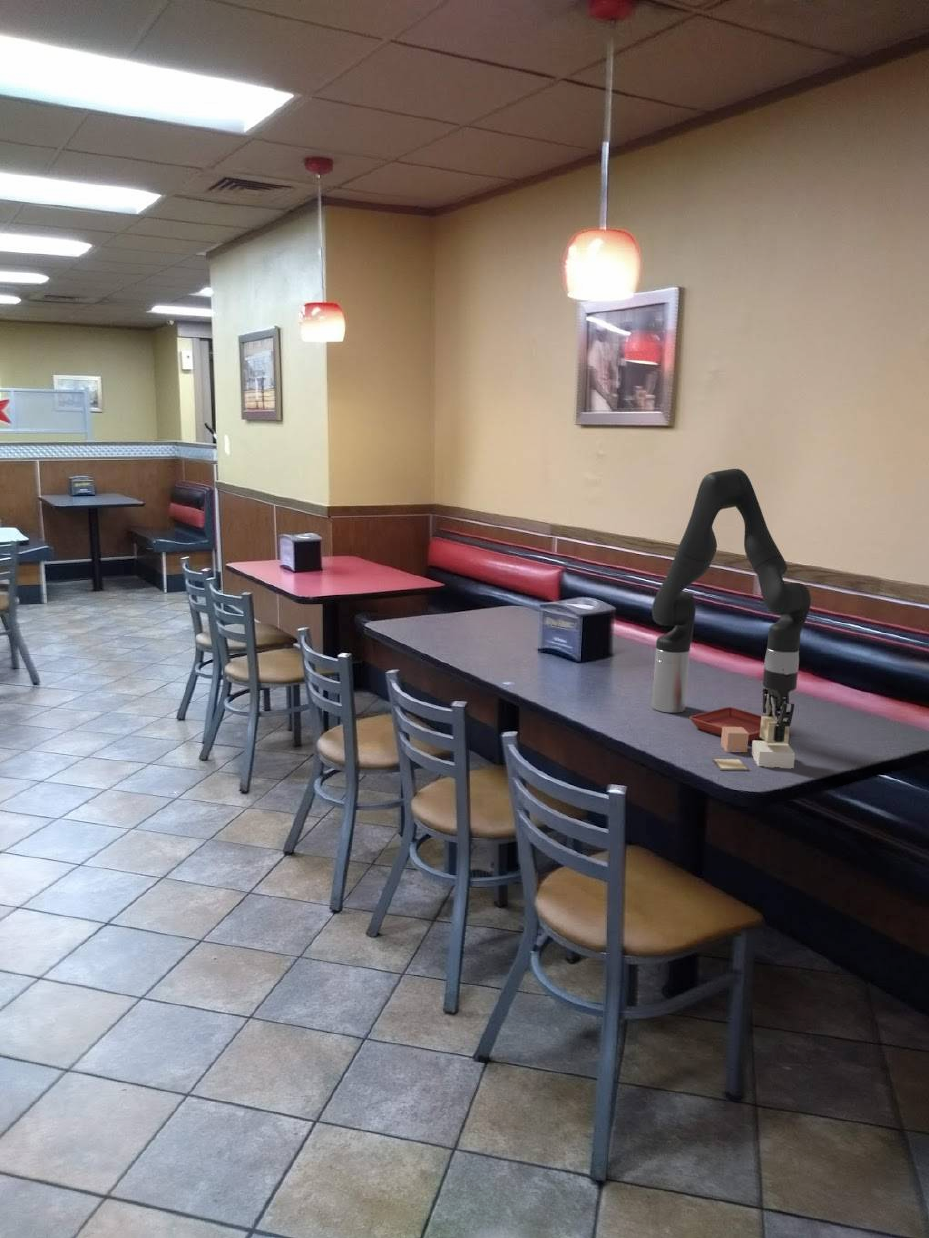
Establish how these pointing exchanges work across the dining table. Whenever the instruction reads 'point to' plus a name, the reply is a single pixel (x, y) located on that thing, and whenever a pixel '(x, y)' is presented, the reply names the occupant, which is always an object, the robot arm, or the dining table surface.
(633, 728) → the dining table surface
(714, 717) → the plant saucer
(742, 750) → the terracotta cube
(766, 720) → the maple cube
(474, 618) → the dining table surface
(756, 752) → the base slab
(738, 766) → the tile
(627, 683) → the dining table surface
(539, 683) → the dining table surface
